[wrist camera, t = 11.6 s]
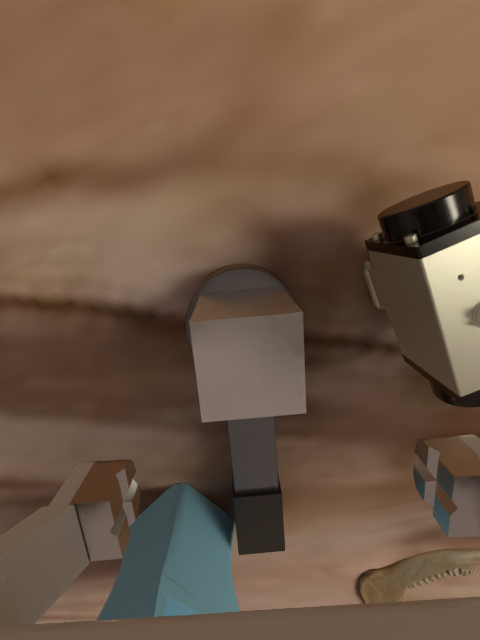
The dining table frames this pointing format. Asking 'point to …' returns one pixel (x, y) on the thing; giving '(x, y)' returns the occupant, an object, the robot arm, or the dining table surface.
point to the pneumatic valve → (432, 286)
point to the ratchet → (251, 438)
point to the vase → (175, 560)
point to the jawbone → (416, 573)
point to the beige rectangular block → (248, 354)
